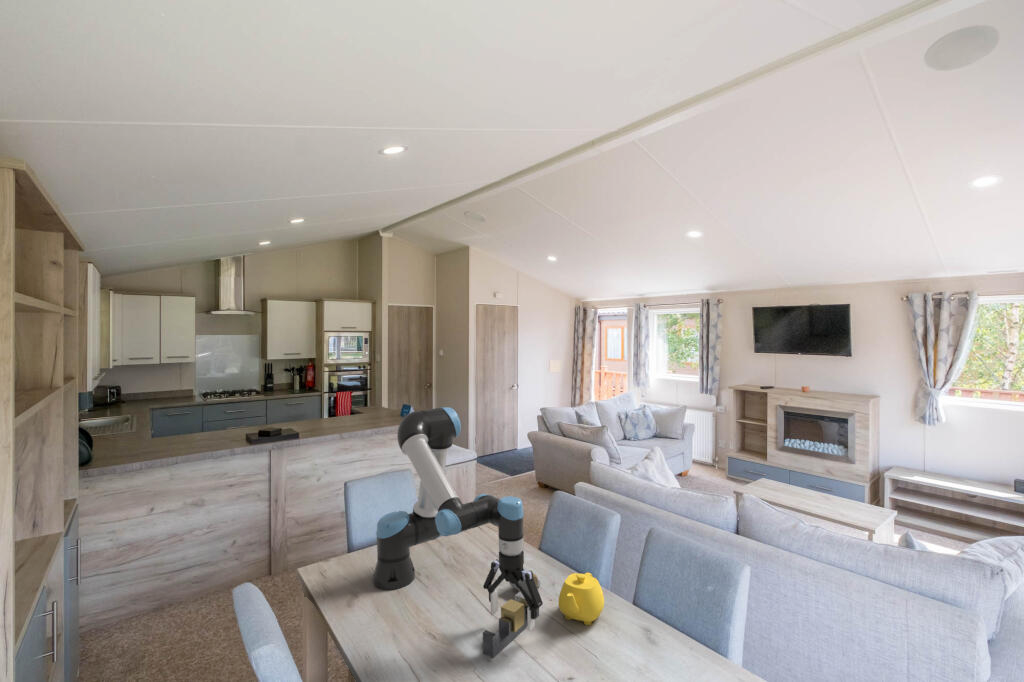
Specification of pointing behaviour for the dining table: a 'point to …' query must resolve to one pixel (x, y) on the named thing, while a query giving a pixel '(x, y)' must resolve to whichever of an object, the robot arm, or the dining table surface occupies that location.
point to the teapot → (581, 598)
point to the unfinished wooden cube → (513, 614)
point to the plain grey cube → (522, 601)
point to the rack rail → (501, 636)
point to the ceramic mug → (533, 578)
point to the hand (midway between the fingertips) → (512, 620)
